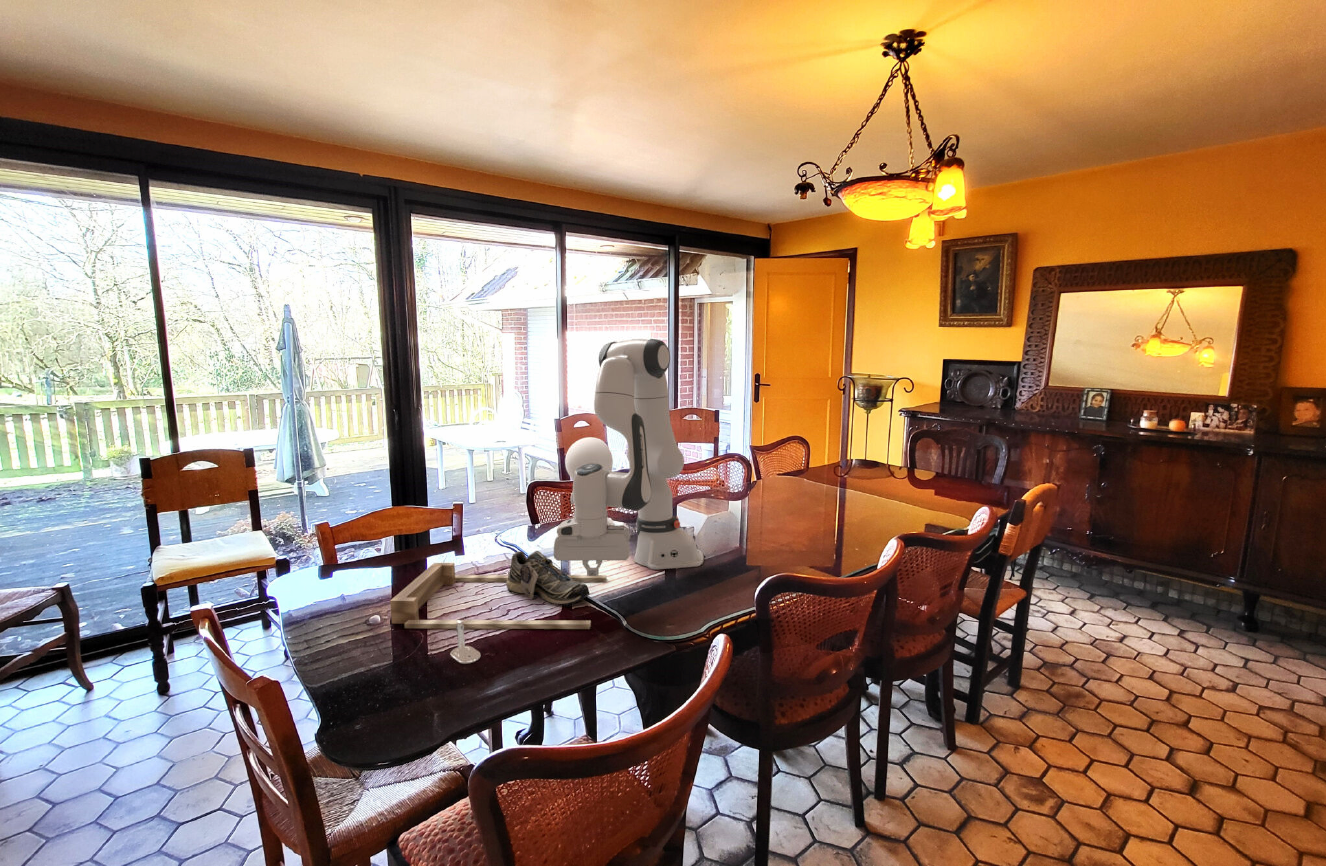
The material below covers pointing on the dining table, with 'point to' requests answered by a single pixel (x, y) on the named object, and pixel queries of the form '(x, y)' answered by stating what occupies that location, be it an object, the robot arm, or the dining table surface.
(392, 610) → the bar
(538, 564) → the running shoe
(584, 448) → the white toy figurine
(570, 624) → the strip
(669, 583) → the dining table surface
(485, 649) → the dining table surface
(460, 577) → the lane strip right
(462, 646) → the white stemmed disc stand
